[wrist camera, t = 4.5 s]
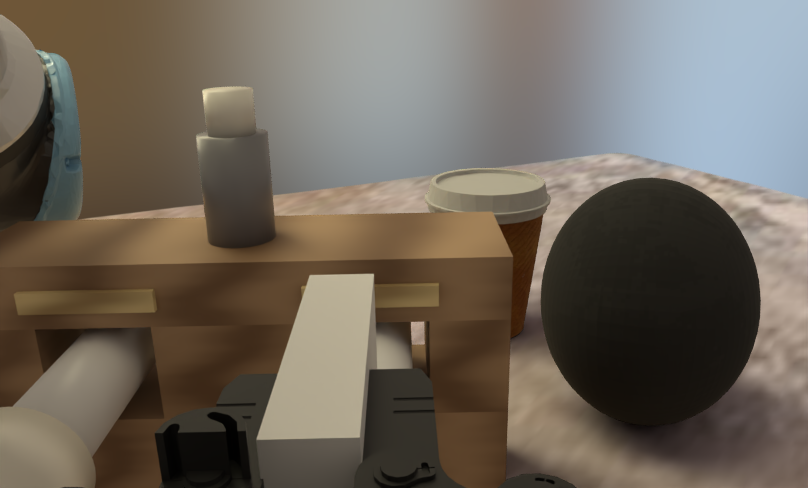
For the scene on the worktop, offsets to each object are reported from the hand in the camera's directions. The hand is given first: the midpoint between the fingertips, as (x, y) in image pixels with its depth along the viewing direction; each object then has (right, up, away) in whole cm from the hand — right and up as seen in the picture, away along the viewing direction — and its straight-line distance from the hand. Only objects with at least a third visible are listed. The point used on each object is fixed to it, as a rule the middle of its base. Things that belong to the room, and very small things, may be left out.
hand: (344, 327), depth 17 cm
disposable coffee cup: (+8, -5, +40) cm, 41 cm away
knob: (-12, -7, +15) cm, 20 cm away
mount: (-6, -11, +22) cm, 25 cm away
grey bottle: (-6, +2, +17) cm, 18 cm away
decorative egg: (+16, -9, +28) cm, 33 cm away
